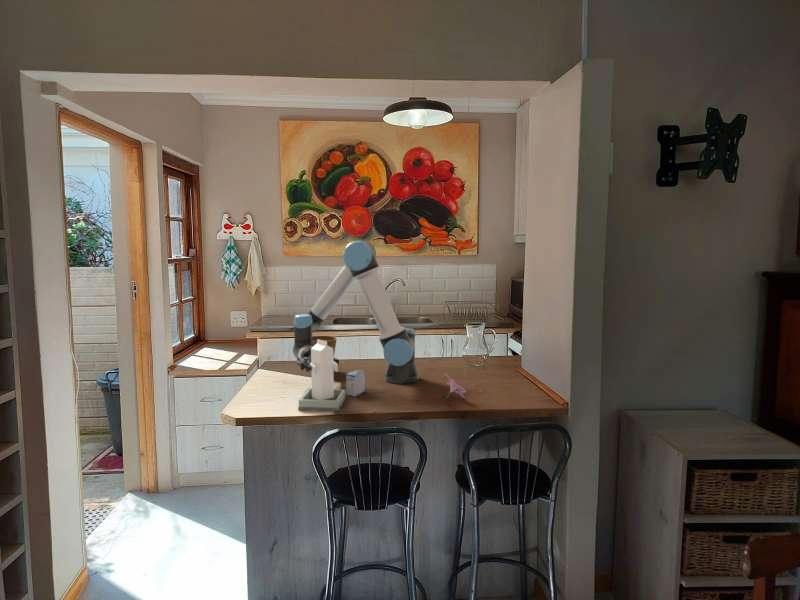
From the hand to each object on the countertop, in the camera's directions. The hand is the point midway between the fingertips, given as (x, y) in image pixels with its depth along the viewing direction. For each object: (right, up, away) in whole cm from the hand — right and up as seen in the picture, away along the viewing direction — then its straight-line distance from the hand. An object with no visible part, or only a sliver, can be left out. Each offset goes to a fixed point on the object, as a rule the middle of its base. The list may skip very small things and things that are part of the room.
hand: (326, 369), depth 187 cm
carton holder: (-2, -14, +6) cm, 15 cm away
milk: (-2, -12, +6) cm, 13 cm away
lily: (+49, -14, +13) cm, 52 cm away
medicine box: (+9, -13, +20) cm, 25 cm away
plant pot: (-10, -8, +54) cm, 55 cm away
